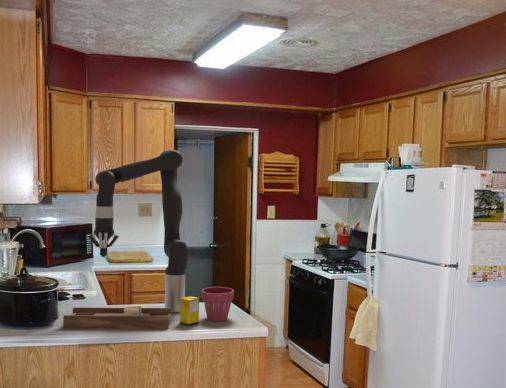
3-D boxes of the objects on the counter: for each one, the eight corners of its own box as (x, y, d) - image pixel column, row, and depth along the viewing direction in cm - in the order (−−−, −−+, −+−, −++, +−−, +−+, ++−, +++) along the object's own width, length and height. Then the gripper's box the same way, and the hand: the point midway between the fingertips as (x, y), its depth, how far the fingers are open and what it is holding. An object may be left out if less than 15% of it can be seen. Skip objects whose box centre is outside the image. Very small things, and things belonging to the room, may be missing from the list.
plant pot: (206, 324, 208) (206, 294, 208) (197, 315, 221) (198, 287, 221) (237, 321, 214) (238, 292, 214) (227, 313, 227) (227, 286, 227)
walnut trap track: (73, 318, 211) (73, 307, 211) (171, 319, 214) (171, 308, 214) (63, 328, 197) (63, 315, 197) (168, 328, 200) (168, 316, 200)
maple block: (127, 315, 208) (127, 305, 208) (141, 315, 208) (141, 306, 208) (123, 318, 202) (124, 309, 202) (138, 319, 202) (138, 309, 202)
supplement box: (189, 320, 213) (189, 295, 213) (199, 323, 209) (199, 297, 209) (179, 323, 208) (179, 297, 208) (188, 326, 205) (189, 300, 204)
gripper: (121, 216, 217) (120, 255, 217) (91, 216, 216) (90, 255, 216) (118, 217, 209) (117, 258, 209) (86, 217, 208) (85, 257, 208)
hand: (103, 256), depth 213 cm, fingers closed
